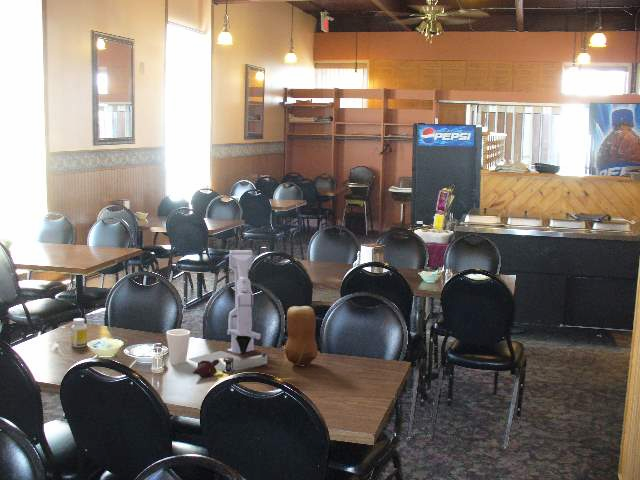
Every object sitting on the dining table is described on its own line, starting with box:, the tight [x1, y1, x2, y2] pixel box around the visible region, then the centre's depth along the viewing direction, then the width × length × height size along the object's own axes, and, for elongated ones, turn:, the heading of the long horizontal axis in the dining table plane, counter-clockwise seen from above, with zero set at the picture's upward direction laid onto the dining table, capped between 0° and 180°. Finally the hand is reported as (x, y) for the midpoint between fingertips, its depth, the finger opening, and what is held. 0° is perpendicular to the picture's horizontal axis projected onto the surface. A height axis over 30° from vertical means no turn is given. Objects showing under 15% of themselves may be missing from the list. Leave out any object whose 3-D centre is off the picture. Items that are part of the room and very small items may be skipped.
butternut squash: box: [284, 305, 319, 367], centre depth 320 cm, size 14×13×25 cm
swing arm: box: [223, 351, 268, 370], centre depth 312 cm, size 20×4×4 cm, turn 127°
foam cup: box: [166, 328, 191, 366], centre depth 317 cm, size 10×9×13 cm
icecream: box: [192, 359, 219, 378], centre depth 302 cm, size 7×7×15 cm
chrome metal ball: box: [221, 363, 235, 374], centre depth 308 cm, size 5×5×4 cm
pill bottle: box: [70, 317, 88, 348], centre depth 336 cm, size 6×6×12 cm
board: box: [188, 350, 263, 375], centre depth 320 cm, size 18×26×1 cm
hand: (243, 353), depth 320 cm, fingers closed
